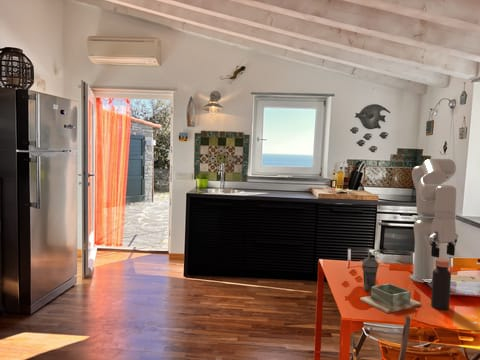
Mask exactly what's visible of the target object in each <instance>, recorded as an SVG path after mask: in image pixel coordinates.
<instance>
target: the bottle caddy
mask: <svg viewBox="0 0 480 360" xmlns="http://www.w3.org/2000/svg"><path fill="white" fill-rule="evenodd" d="M359 301H361V302H363V303H366V304H368V305H370V306H371V307H374V308H376V309H378V310H380V311H382V312H384V313H386V314H390V313H393V312H398V311H401V310H402V311H404V310H406V309H411V308H415V307H420V306H422V303H421V302H419V301H417V300H415V299H412V298H411V291H410V290H409V289H406V288H403V287H400V286H397V285H396V284H393V283H385V284H384V283H383V284H378V285H375V286H372V287H371V291H370V295H368V296H363V297H359Z"/></svg>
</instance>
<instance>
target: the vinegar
mask: <svg viewBox="0 0 480 360" xmlns="http://www.w3.org/2000/svg"><path fill="white" fill-rule="evenodd" d="M449 267H450V261H449V260H448V259H447V260H446V259H442V258H441V259H439V258H438V259H437V258H436V259H435V268H434V270H433V276H432V283H431V299H430V302H431V303H430V305H431V307H433V308H434V309H436V310H442V311H448V310H449V309H450V300H451V298H450V297H451V279H452V273H451V271H450V270H449Z"/></svg>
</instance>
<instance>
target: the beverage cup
mask: <svg viewBox="0 0 480 360" xmlns="http://www.w3.org/2000/svg"><path fill="white" fill-rule="evenodd" d="M367 255H368V256H367V257H366V258H364V259H363V261H362V264H361V265H362V273H363V289H364V290H365V291H368V292H371V287H372V286H376V280H377V272H378V269H379V264H378V260H376V259H375V258H374V257H371V256H370V248H369V247H368V248H367Z"/></svg>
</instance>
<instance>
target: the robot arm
mask: <svg viewBox="0 0 480 360" xmlns="http://www.w3.org/2000/svg"><path fill="white" fill-rule="evenodd" d="M456 170H457V166H456V163H455V161H454V160H452V159H450V158H429V159H426V160H424V161H423V162H422V164H421V165H417V166H414V167H413V169H412V170H411V179H412V182H413V185H414V188H415V191H416V196H415V197H416V199H415V200H416V214H417V215H418V216H419V217H422V218H431V219H418V220H416V221H415V222H414V223H413V233H414V254H413V257H414V258H413V273H412V274H410V275H409V278H410V279H411V280H412V281H415V282H418V283H421V284H422V283H423V284H425V283H424V282H423V281H422V280H421V279H432V276H433V270H435V261H436V259H437V258H438V259H439V258H440V250H441V249H440V246H441V244H446V243H447V245H446V255H447V256H452V257H455V251H456V246H457V243H458V238H459V235H458V233H457V231H456V229H457V228H456V226H457V225H456V208H457V207H456V205H457V188H456V187H455V186H453V185H450V184H444V183H446V182H448V181H450V180H451V178H453V177H454V175H455V173H456ZM435 258H436V259H435Z"/></svg>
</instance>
